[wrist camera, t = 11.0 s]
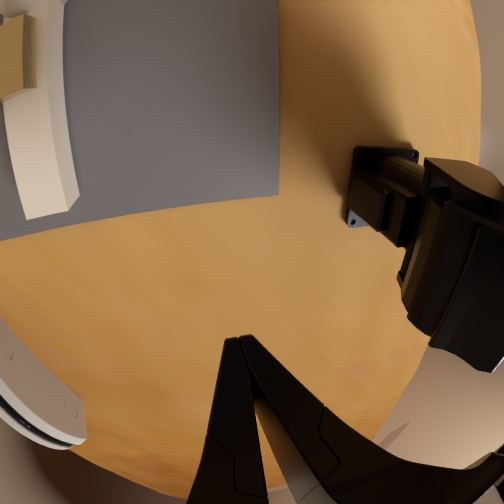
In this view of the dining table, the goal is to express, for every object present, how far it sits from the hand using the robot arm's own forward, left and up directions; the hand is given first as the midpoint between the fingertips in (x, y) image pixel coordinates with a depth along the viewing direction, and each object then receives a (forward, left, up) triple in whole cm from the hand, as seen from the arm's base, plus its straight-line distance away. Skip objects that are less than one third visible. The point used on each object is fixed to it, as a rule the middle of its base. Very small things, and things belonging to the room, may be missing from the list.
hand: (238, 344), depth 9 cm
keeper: (+11, -11, -12) cm, 20 cm away
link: (+9, -10, -11) cm, 18 cm away
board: (+5, -10, -12) cm, 17 cm away
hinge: (+21, +14, -12) cm, 28 cm away
